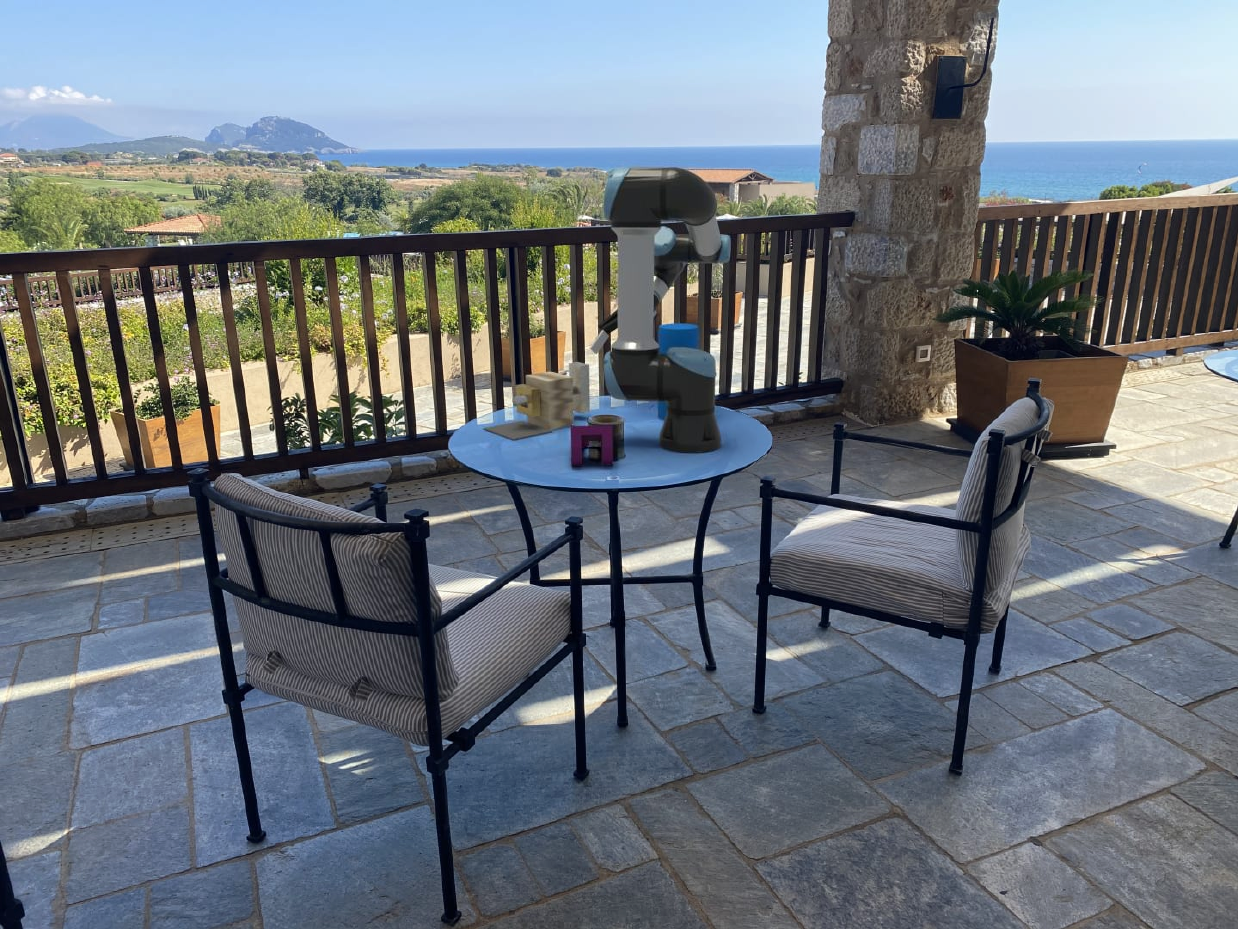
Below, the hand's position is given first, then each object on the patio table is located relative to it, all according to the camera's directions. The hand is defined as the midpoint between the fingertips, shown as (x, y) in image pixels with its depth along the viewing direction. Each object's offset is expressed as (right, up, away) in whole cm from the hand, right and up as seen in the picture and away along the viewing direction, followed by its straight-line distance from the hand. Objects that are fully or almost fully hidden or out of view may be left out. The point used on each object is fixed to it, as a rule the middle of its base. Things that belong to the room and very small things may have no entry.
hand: (608, 354), depth 243 cm
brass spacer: (-21, -17, -13) cm, 30 cm away
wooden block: (-15, -20, -8) cm, 26 cm away
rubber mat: (-23, -22, -14) cm, 35 cm away
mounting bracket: (-4, -29, -36) cm, 46 cm away
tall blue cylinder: (+19, -18, -1) cm, 26 cm away
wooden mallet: (-15, -18, -8) cm, 25 cm away
